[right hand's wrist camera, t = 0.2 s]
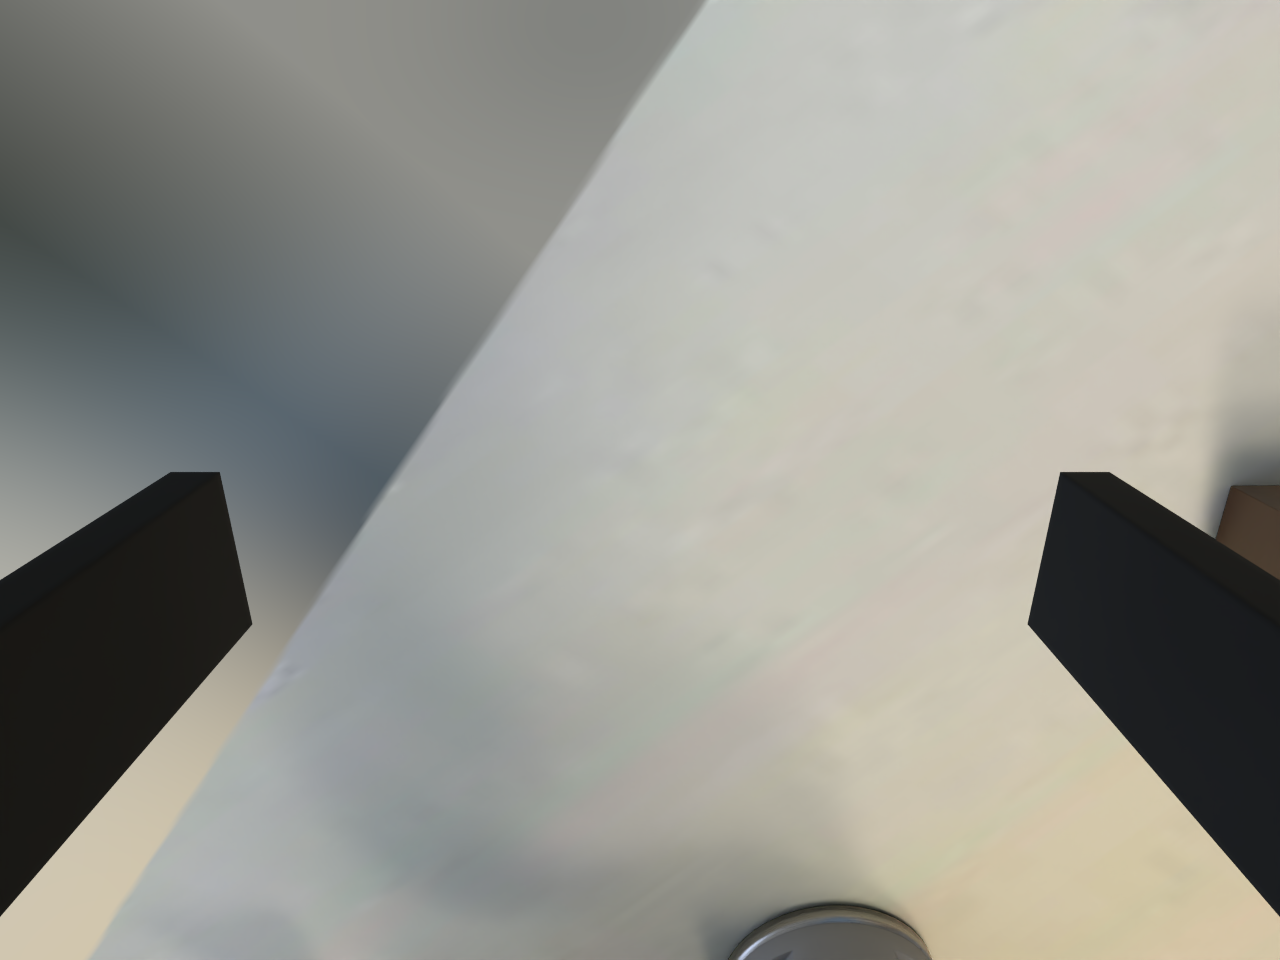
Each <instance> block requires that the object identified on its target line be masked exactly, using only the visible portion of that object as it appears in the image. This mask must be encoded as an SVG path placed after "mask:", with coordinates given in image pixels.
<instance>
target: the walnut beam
mask: <svg viewBox="0 0 1280 960" xmlns="http://www.w3.org/2000/svg"><path fill="white" fill-rule="evenodd" d="M1216 540H1217V541H1219V542H1220V543H1222V544H1223V545H1225V546H1227V547H1228V548H1230V549H1231V550H1233V551H1235V552H1236V553H1238V554H1239V555H1241V556H1242V557H1244V558H1246V559H1247V560H1249V561H1250V562H1252V563H1253V564H1255V565H1257V566H1258V567H1260V568H1261V569H1263V570H1265V571H1266V572H1268V573H1269V574H1271V575H1272V576H1274V577H1276V578H1277V579H1279V580H1280V486H1231V489H1230V492H1229V496H1228V499H1227V503H1226V506H1225V509H1224V513H1223V516H1222V520H1221V523H1220V527H1219V530H1218V533H1217V537H1216Z"/></svg>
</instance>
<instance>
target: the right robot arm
mask: <svg viewBox="0 0 1280 960" xmlns="http://www.w3.org/2000/svg"><path fill="white" fill-rule="evenodd" d="M251 625H252V620H251V616H250V611H249V606H248V602H247V597H246V592H245V588H244V583H243V578H242V574H241V569H240V565H239V560H238V555H237V551H236V546H235V541H234V537H233V532H232V527H231V523H230V518H229V513H228V509H227V504H226V499H225V495H224V490H223V485H222V481H221V476H220V472H170V473H169V474H167V475H165V476H164V477H162V478H161V479H159V480H157V481H156V482H154V483H153V484H151V485H150V486H148V487H147V488H145V489H143V490H142V491H140V492H139V493H137V494H135V495H134V496H132V497H131V498H129V499H127V500H126V501H124V502H123V503H121V504H120V505H118V506H116V507H115V508H113V509H112V510H110V511H109V512H107V513H105V514H104V515H102V516H101V517H99V518H98V519H96V520H94V521H93V522H91V523H90V524H88V525H86V526H85V527H83V528H82V529H80V530H79V531H77V532H75V533H74V534H72V535H71V536H69V537H68V538H66V539H64V540H63V541H61V542H60V543H58V544H57V545H55V546H53V547H52V548H50V549H49V550H47V551H45V552H44V553H42V554H41V555H39V556H38V557H36V558H34V559H33V560H31V561H30V562H28V563H27V564H25V565H23V566H22V567H20V568H19V569H17V570H16V571H14V572H12V573H11V574H9V575H8V576H6V577H4V578H3V579H1V580H0V916H1V915H2V914H3V913H4V912H5V910H6V909H7V908H8V907H9V906H10V905H11V904H12V902H13V901H14V900H15V899H16V898H17V897H18V895H19V894H20V893H21V892H22V891H23V890H24V888H25V887H26V886H27V885H28V884H29V883H30V881H31V880H32V879H33V878H34V877H35V876H36V875H37V873H38V872H39V871H40V870H41V869H42V868H43V866H44V865H45V864H46V863H47V862H48V861H49V859H50V858H51V857H52V856H53V855H54V854H55V852H56V851H57V850H58V849H59V848H60V847H61V846H62V844H63V843H64V842H65V841H66V840H67V839H68V837H69V836H70V835H71V834H72V833H73V832H74V830H75V829H76V828H77V827H78V826H79V825H80V823H81V822H82V821H83V820H84V819H85V818H86V817H87V815H88V814H89V813H90V812H91V811H92V810H93V808H94V807H95V806H96V805H97V804H98V803H99V801H100V800H101V799H102V798H103V797H104V796H105V795H106V793H107V792H108V791H109V790H110V789H111V787H112V786H113V785H114V784H115V783H116V782H117V781H118V779H119V778H120V777H121V776H122V775H123V774H124V772H125V771H126V770H127V769H128V768H129V767H130V766H131V764H132V763H133V762H134V761H135V760H136V759H137V757H138V756H139V755H140V754H141V753H142V752H143V750H144V749H145V748H146V747H147V746H148V745H149V743H150V742H151V741H152V740H153V739H154V738H155V737H156V735H157V734H158V733H159V732H160V731H161V730H162V728H163V727H164V726H165V725H166V724H167V723H168V721H169V720H170V719H171V718H172V717H173V716H174V714H175V713H176V712H177V711H178V710H179V709H180V708H181V706H182V705H183V704H184V703H185V702H186V701H187V699H188V698H189V697H190V696H191V695H192V694H193V692H194V691H195V690H196V689H197V688H198V687H199V685H200V684H201V683H202V682H203V681H204V680H205V679H206V677H207V676H208V675H209V674H210V673H211V672H212V670H213V669H214V668H215V667H216V666H217V665H218V663H219V662H220V661H221V660H222V659H223V658H224V656H225V655H226V654H227V653H228V652H229V651H230V650H231V648H232V647H233V646H234V645H235V644H236V643H237V641H238V640H239V639H240V638H241V637H242V636H243V634H244V633H245V632H246V631H247V630H248V629H249V627H250V626H251ZM1028 625H1029V626H1030V627H1031V629H1032V630H1033V631H1034V632H1035V633H1036V634H1037V636H1038V637H1039V638H1040V639H1041V640H1042V641H1043V643H1044V644H1045V645H1046V646H1047V647H1048V648H1049V650H1050V651H1051V652H1052V653H1053V654H1054V655H1055V656H1056V658H1057V659H1058V660H1059V661H1060V662H1061V663H1062V665H1063V666H1064V667H1065V668H1066V669H1067V670H1068V672H1069V673H1070V674H1071V675H1072V676H1073V677H1074V679H1075V680H1076V681H1077V682H1078V683H1079V684H1080V685H1081V687H1082V688H1083V689H1084V690H1085V691H1086V692H1087V694H1088V695H1089V696H1090V697H1091V698H1092V699H1093V701H1094V702H1095V703H1096V704H1097V705H1098V706H1099V708H1100V709H1101V710H1102V711H1103V712H1104V713H1105V714H1106V716H1107V717H1108V718H1109V719H1110V720H1111V721H1112V723H1113V724H1114V725H1115V726H1116V727H1117V728H1118V730H1119V731H1120V732H1121V733H1122V734H1123V735H1124V737H1125V738H1126V739H1127V740H1128V741H1129V742H1130V743H1131V745H1132V746H1133V747H1134V748H1135V749H1136V750H1137V752H1138V753H1139V754H1140V755H1141V756H1142V757H1143V759H1144V760H1145V761H1146V762H1147V763H1148V764H1149V766H1150V767H1151V768H1152V769H1153V770H1154V771H1155V772H1156V774H1157V775H1158V776H1159V777H1160V778H1161V779H1162V781H1163V782H1164V783H1165V784H1166V785H1167V786H1168V788H1169V789H1170V790H1171V791H1172V792H1173V793H1174V795H1175V796H1176V797H1177V798H1178V799H1179V800H1180V801H1181V803H1182V804H1183V805H1184V806H1185V807H1186V808H1187V810H1188V811H1189V812H1190V813H1191V814H1192V815H1193V817H1194V818H1195V819H1196V820H1197V821H1198V822H1199V823H1200V825H1201V826H1202V827H1203V828H1204V829H1205V830H1206V832H1207V833H1208V834H1209V835H1210V836H1211V837H1212V839H1213V840H1214V841H1215V842H1216V843H1217V844H1218V846H1219V847H1220V848H1221V849H1222V850H1223V851H1224V852H1225V854H1226V855H1227V856H1228V857H1229V858H1230V859H1231V861H1232V862H1233V863H1234V864H1235V865H1236V866H1237V868H1238V869H1239V870H1240V871H1241V872H1242V873H1243V875H1244V876H1245V877H1246V878H1247V879H1248V880H1249V881H1250V883H1251V884H1252V885H1253V886H1254V887H1255V888H1256V890H1257V891H1258V892H1259V893H1260V894H1261V895H1262V897H1263V898H1264V899H1265V900H1266V901H1267V902H1268V904H1269V905H1270V906H1271V907H1272V908H1273V909H1274V910H1275V912H1276V913H1277V914H1278V915H1279V916H1280V580H1279V579H1277V578H1276V577H1274V576H1272V575H1271V574H1269V573H1268V572H1266V571H1265V570H1263V569H1261V568H1260V567H1258V566H1257V565H1255V564H1253V563H1252V562H1250V561H1249V560H1247V559H1246V558H1244V557H1242V556H1241V555H1239V554H1238V553H1236V552H1235V551H1233V550H1231V549H1230V548H1228V547H1227V546H1225V545H1223V544H1222V543H1220V542H1219V541H1217V540H1216V539H1214V538H1212V537H1211V536H1209V535H1208V534H1206V533H1205V532H1203V531H1201V530H1200V529H1198V528H1197V527H1195V526H1194V525H1192V524H1190V523H1189V522H1187V521H1186V520H1184V519H1182V518H1181V517H1179V516H1178V515H1176V514H1175V513H1173V512H1171V511H1170V510H1168V509H1167V508H1165V507H1164V506H1162V505H1160V504H1159V503H1157V502H1156V501H1154V500H1153V499H1151V498H1149V497H1148V496H1146V495H1145V494H1143V493H1141V492H1140V491H1138V490H1137V489H1135V488H1134V487H1132V486H1130V485H1129V484H1127V483H1126V482H1124V481H1123V480H1121V479H1119V478H1118V477H1116V476H1115V475H1113V474H1111V473H1110V472H1060V476H1059V481H1058V485H1057V490H1056V495H1055V499H1054V504H1053V509H1052V513H1051V518H1050V523H1049V527H1048V532H1047V537H1046V541H1045V546H1044V551H1043V555H1042V560H1041V564H1040V569H1039V574H1038V578H1037V583H1036V588H1035V592H1034V597H1033V602H1032V606H1031V611H1030V616H1029V620H1028ZM728 960H932V958H931V956H930V953H929V951H928V949H927V947H926V945H925V944H924V942H923V941H922V939H921V938H920V937H919V936H918V935H917V934H916V933H915V932H914V931H913V930H912V929H911V928H910V927H908V926H907V925H905V924H904V923H902V922H901V921H899V920H897V919H895V918H893V917H891V916H889V915H887V914H884V913H881V912H878V911H875V910H871V909H867V908H861V907H854V906H837V905H835V906H820V907H812V908H807V909H802V910H798V911H794V912H791V913H788V914H785V915H782V916H780V917H778V918H775V919H773V920H771V921H769V922H767V923H765V924H764V925H762V926H760V927H759V928H757V929H756V930H754V931H753V932H752V933H751V934H749V935H748V936H747V937H746V938H745V939H744V940H743V941H742V942H741V943H740V944H739V945H738V946H737V947H736V948H735V950H734V951H733V953H732V954H731V956H730V958H729V959H728Z"/></svg>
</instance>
